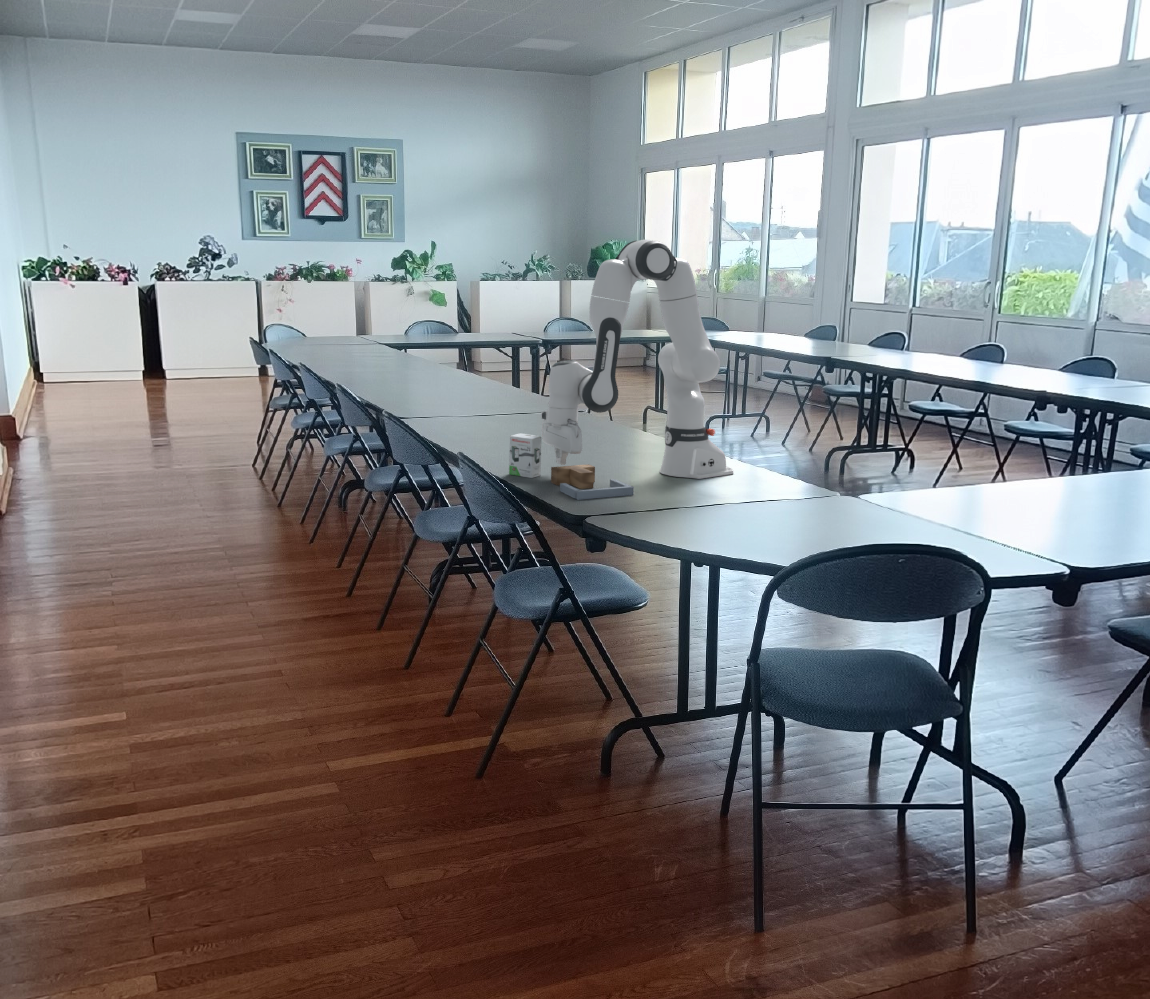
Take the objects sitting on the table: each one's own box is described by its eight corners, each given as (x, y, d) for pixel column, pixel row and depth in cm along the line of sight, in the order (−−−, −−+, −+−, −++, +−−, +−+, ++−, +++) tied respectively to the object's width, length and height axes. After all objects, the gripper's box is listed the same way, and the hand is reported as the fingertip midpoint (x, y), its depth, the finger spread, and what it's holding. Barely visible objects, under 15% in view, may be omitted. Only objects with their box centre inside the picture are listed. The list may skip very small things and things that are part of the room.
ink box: (508, 474, 311) (508, 435, 309) (517, 471, 315) (518, 432, 313) (531, 478, 307) (532, 438, 304) (541, 475, 311) (542, 436, 308)
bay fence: (614, 486, 298) (614, 479, 298) (633, 494, 288) (633, 486, 288) (560, 491, 291) (560, 483, 290) (577, 499, 281) (577, 491, 281)
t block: (588, 479, 307) (588, 464, 306) (605, 486, 297) (606, 471, 296) (551, 482, 302) (551, 467, 301) (567, 490, 292) (567, 474, 291)
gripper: (588, 421, 297) (586, 470, 300) (557, 411, 315) (556, 457, 318) (568, 422, 294) (566, 471, 297) (538, 412, 312) (536, 458, 315)
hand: (560, 463), depth 308 cm, fingers closed
